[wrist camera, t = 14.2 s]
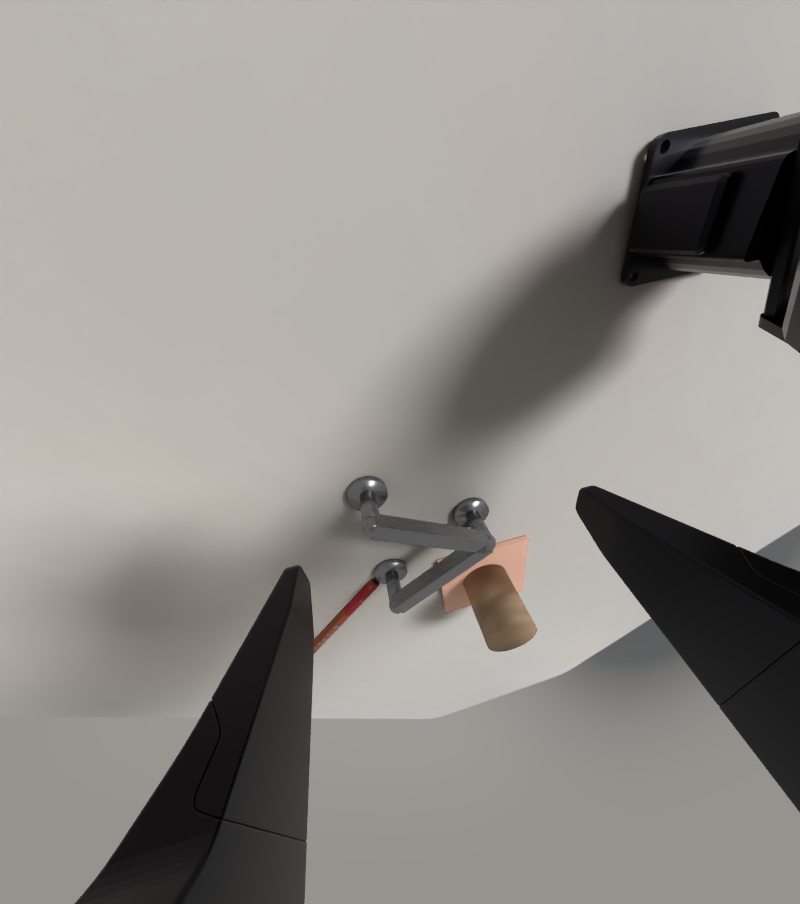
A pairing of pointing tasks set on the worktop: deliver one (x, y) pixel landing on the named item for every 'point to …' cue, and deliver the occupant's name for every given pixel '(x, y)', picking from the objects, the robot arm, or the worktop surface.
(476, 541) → the dark grey bent piece
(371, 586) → the pencil
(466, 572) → the terracotta mat
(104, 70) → the worktop surface
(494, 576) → the wooden dowel cylinder
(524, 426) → the worktop surface
